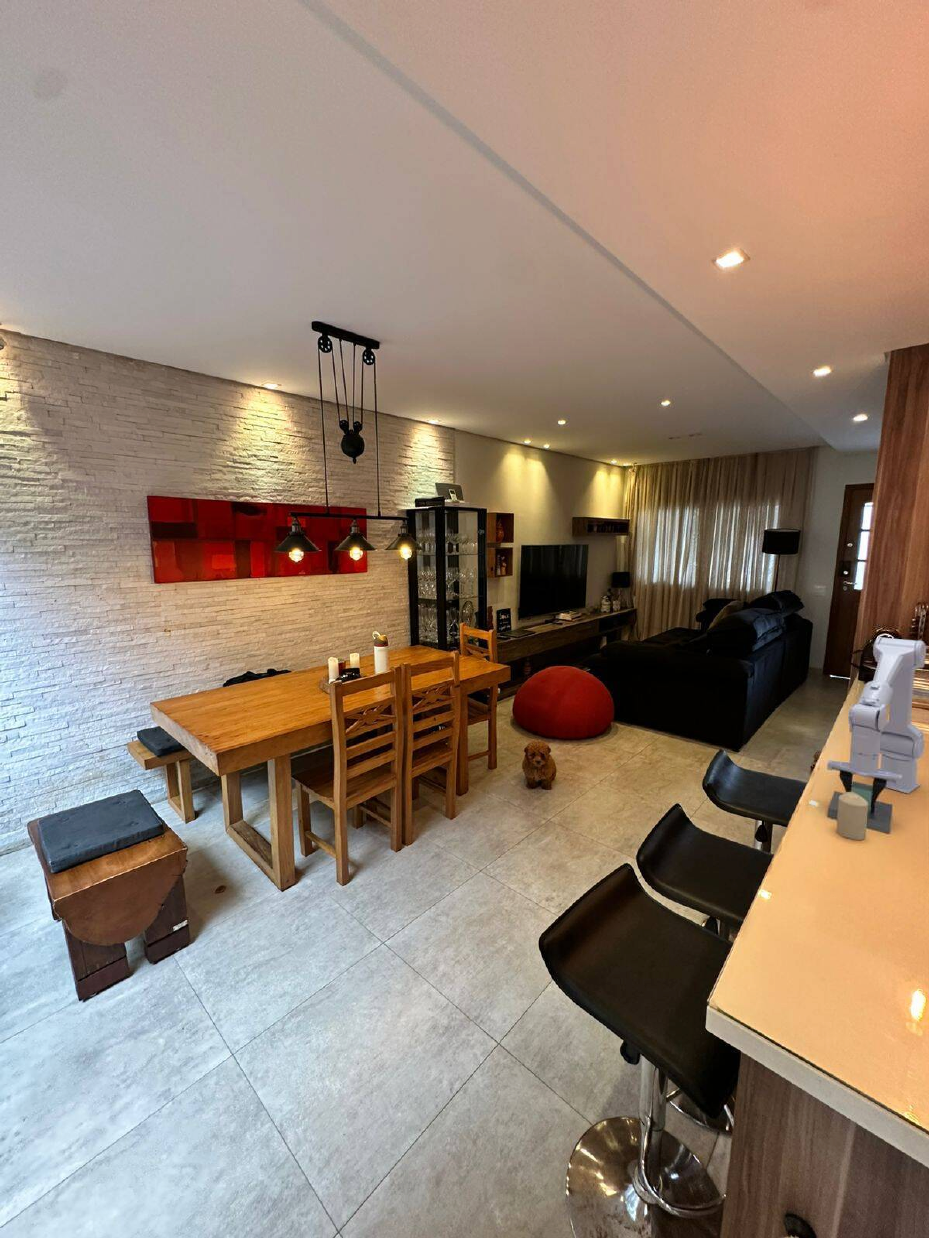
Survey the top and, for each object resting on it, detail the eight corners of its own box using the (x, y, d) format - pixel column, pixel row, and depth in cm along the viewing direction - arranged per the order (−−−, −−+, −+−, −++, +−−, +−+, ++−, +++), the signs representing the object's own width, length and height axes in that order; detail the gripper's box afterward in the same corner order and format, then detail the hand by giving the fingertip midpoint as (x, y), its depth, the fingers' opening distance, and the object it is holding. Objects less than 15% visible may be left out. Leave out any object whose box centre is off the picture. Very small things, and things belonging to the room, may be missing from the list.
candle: (870, 841, 116) (873, 800, 115) (844, 839, 117) (846, 799, 116) (857, 828, 122) (860, 789, 120) (831, 826, 123) (834, 788, 122)
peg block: (851, 803, 130) (853, 781, 130) (871, 808, 128) (872, 785, 127) (849, 809, 127) (851, 786, 127) (870, 814, 125) (871, 791, 124)
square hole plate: (833, 799, 136) (834, 790, 136) (891, 813, 128) (892, 804, 128) (827, 817, 127) (828, 807, 127) (889, 833, 119) (890, 823, 119)
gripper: (827, 749, 127) (823, 800, 129) (902, 764, 118) (897, 818, 119) (830, 741, 133) (827, 790, 134) (903, 755, 123) (898, 807, 125)
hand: (860, 802), depth 127 cm, fingers closed on peg block, 4 cm apart
